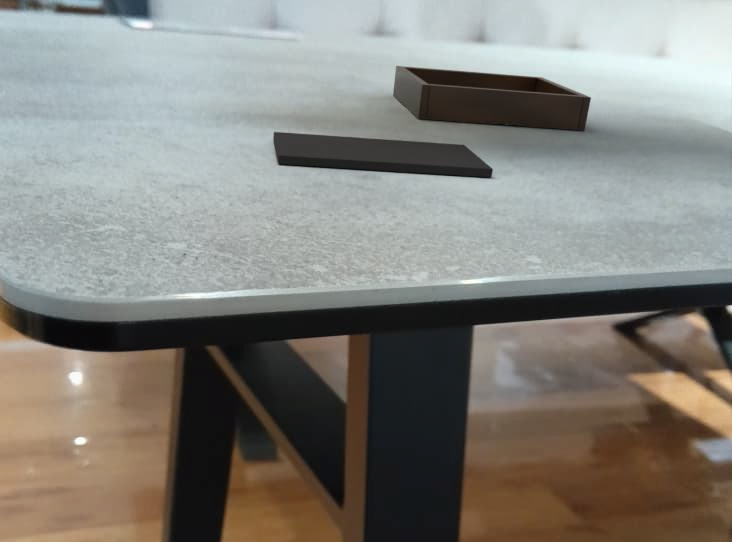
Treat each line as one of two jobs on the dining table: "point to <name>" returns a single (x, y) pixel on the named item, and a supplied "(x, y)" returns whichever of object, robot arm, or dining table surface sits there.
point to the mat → (378, 154)
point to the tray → (489, 98)
